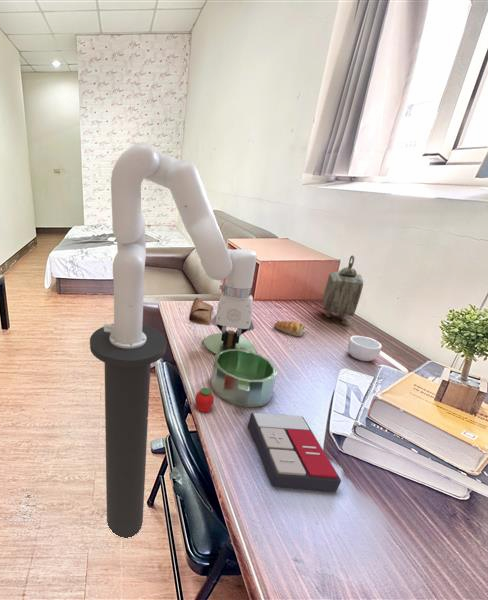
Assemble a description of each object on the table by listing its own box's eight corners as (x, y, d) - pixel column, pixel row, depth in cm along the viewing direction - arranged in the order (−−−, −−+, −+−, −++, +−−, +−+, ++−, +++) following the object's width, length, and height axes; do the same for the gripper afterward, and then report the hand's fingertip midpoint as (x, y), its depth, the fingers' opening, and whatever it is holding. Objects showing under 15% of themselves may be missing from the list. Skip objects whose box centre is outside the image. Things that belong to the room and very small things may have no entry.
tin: (206, 405, 75) (210, 379, 72) (214, 362, 92) (217, 340, 90) (273, 421, 70) (279, 395, 67) (268, 373, 87) (273, 350, 84)
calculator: (277, 473, 54) (250, 409, 67) (271, 489, 56) (247, 424, 69) (344, 478, 53) (303, 413, 66) (336, 494, 55) (298, 427, 68)
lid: (201, 354, 97) (203, 338, 95) (206, 332, 110) (208, 318, 108) (255, 365, 91) (258, 348, 89) (254, 340, 105) (257, 326, 103)
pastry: (272, 330, 112) (274, 320, 110) (276, 324, 116) (278, 314, 115) (301, 338, 106) (304, 328, 105) (304, 331, 111) (307, 321, 110)
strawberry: (193, 410, 74) (195, 394, 72) (195, 399, 77) (197, 383, 75) (211, 415, 72) (214, 398, 70) (213, 403, 76) (215, 387, 74)
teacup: (379, 367, 90) (385, 351, 88) (347, 360, 93) (352, 344, 91) (371, 351, 98) (376, 336, 96) (342, 345, 102) (346, 330, 100)
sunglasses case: (211, 323, 116) (204, 308, 114) (194, 329, 119) (186, 315, 118) (213, 306, 131) (206, 292, 130) (198, 312, 134) (191, 298, 133)
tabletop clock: (350, 328, 113) (371, 261, 104) (321, 322, 117) (338, 258, 108) (345, 313, 125) (364, 253, 115) (319, 309, 129) (335, 250, 120)
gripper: (208, 291, 93) (202, 344, 100) (267, 298, 87) (256, 354, 94) (211, 283, 99) (205, 334, 106) (266, 290, 94) (256, 343, 101)
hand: (229, 343), depth 100 cm, fingers closed on lid, 2 cm apart
